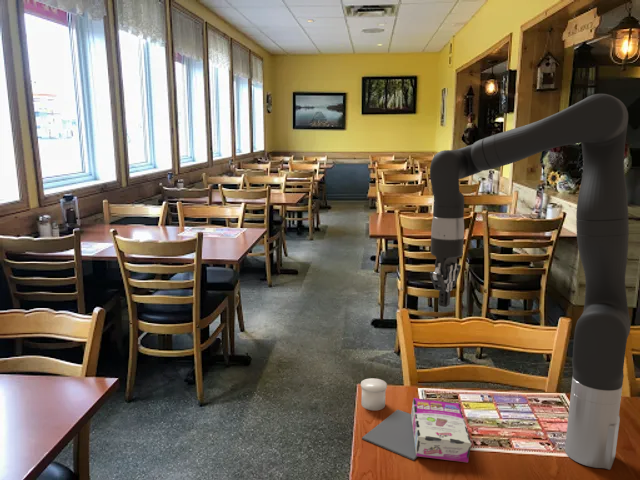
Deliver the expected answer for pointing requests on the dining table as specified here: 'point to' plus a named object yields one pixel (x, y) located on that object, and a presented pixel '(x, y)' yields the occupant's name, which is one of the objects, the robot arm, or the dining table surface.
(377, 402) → the sugar bowl
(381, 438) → the mat
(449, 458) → the candy bar box
